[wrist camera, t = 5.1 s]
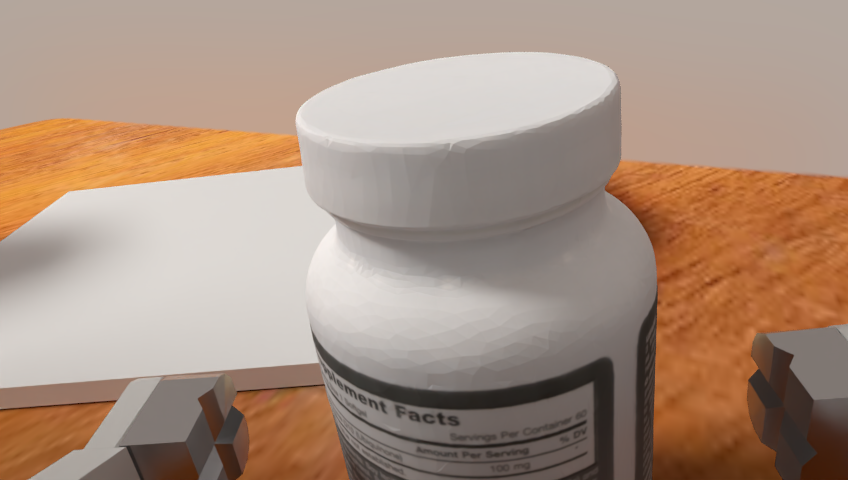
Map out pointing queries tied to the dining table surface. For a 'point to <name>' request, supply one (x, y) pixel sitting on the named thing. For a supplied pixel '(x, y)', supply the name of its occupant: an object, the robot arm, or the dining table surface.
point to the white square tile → (160, 288)
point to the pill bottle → (480, 272)
